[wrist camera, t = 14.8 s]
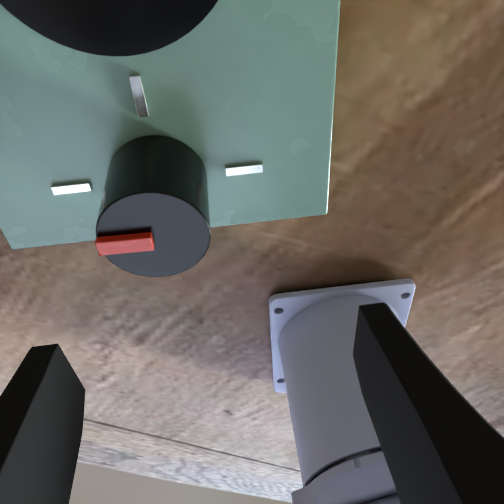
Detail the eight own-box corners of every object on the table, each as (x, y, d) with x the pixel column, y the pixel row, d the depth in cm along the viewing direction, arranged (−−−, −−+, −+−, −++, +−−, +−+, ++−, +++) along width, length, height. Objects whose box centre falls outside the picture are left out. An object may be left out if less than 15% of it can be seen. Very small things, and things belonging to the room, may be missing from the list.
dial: (201, 130, 16) (205, 192, 14) (211, 211, 19) (215, 278, 16) (96, 138, 16) (79, 203, 14) (120, 220, 19) (109, 288, 16)
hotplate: (316, 208, 22) (327, 238, 20) (33, 240, 22) (21, 273, 20) (340, -348, 11) (366, -376, 9) (-241, -307, 10) (-316, -328, 9)
